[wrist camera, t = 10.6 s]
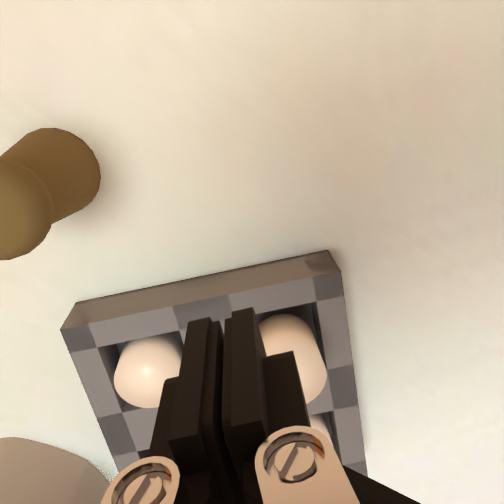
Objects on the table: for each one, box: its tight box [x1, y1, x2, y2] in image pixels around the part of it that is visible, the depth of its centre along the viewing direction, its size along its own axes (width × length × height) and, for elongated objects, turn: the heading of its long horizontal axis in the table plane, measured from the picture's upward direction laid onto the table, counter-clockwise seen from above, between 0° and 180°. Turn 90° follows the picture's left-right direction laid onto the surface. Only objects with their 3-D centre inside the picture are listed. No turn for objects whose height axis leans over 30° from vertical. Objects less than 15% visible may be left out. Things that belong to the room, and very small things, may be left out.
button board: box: [60, 250, 368, 477], centre depth 38 cm, size 20×20×4 cm
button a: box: [258, 314, 327, 404], centre depth 32 cm, size 5×5×4 cm
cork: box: [0, 128, 101, 260], centre depth 27 cm, size 6×6×11 cm
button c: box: [114, 331, 184, 408], centre depth 35 cm, size 5×5×4 cm
